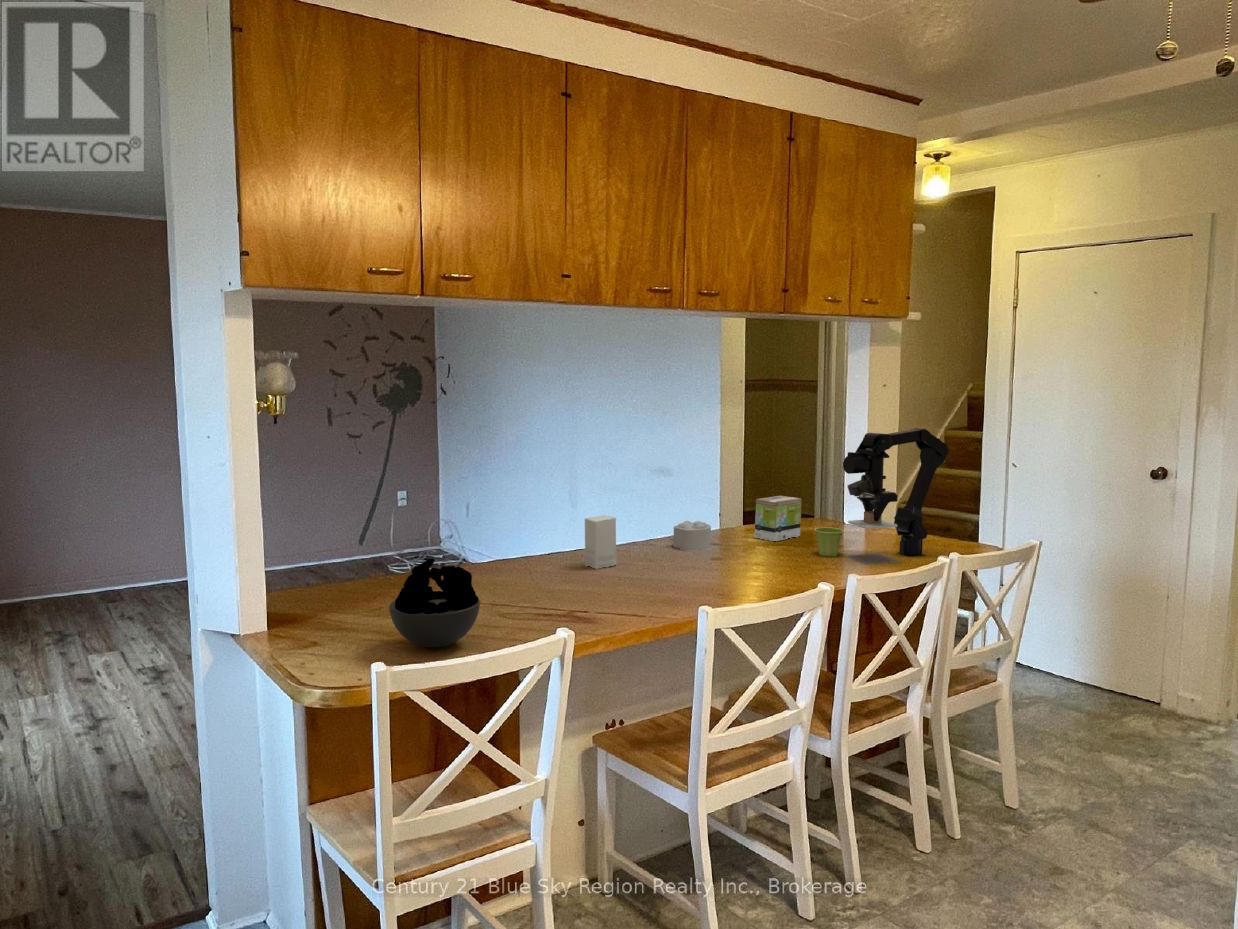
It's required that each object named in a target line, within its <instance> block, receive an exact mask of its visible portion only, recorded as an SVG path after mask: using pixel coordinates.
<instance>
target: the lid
mask: <svg viewBox="0 0 1238 929" xmlns="http://www.w3.org/2000/svg"><path fill="white" fill-rule="evenodd" d="M882 515H883V514H882ZM882 515H881V517H880V519H879V520H878V521H875V520H874V510H873V511H866V512H865V511H863V519H855V520H854V519H853V520H848V521H847V522H848V524H850V525H852V526H853V525H854V526H856V527H859V528H862V529H866V530H869V529H870V530H873V529H887V528H888V529H889V528H895V527H897V524H894V522H889V521H886V520H883V519H882V517H883V516H882Z"/></svg>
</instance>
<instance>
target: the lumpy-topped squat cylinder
mask: <svg viewBox="0 0 1238 929" xmlns="http://www.w3.org/2000/svg"><path fill="white" fill-rule="evenodd" d="M711 538H712V527H711V525H710V524H707V522H703V521H700V520H697V521H694V522H691V521H690V520H685V521H683V522H681V523H678V524H677V525H674V526H673V548H675V547H677V548H676V549H679V548H681V549H684V550H683V551H687V550H692V551H696V550H695V549H701V550H703V549H702V548H707V549H709V548H711V547H710V546H712V544H711V543H712V539H711ZM681 549H680V550H681Z"/></svg>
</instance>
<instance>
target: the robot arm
mask: <svg viewBox="0 0 1238 929" xmlns="http://www.w3.org/2000/svg"><path fill="white" fill-rule="evenodd" d="M910 443H915V446H916V448H918V449H919V451H920V452H919V460H920V467H919V470H918V472H917V474H916V478H915V480H914V484H913V486H912V489H911V491H910V493H909V497H908V499H907V502H906V504H905V505H904V506H903V507H897V509H896V513H895V516H894V517H893V519H894V520H893V521H894V522H893V524H897V527H894V528H895V530H896V534H897V536H900V541H899V551H898V552H897V553H898V554H900V555H903V556H906V557H908V558H909V557H910V558H911V557H922V556H923V557H924V556H926V554H925V553H923V544H924V543H923V542H924V539H927V537H928V534H929V533H928V532H929V531H927V530H926V528H925V527H924V526H923V519H924V517H923V511H922V510H923V506H924V503H925V501H926V497H927V495H928V493H929V489H930V488H931V484H932V481H933V479H934V478H935V477H934V476H935V473H936V470H937V469H938V468H940V467H941V466H942V465H943V464H944V463H945V461H946V459H947V457H948V455H949V452H950V451H949V448H948V445H947V444H946V443H945V442H944V441H942V440H941V439H940V438H938V437H937V436H935V435H933V434H932V433H931V432H930V431H929V430H928V429H926V428H918V427H915V428H914V429H908V430H902V431H895V432H889V433H881V432H867V433H866V434H864V436H863V438H862V441H861V442H860V444H859V445H858V447H857V449H856V450H855V452H852V451H849V452H847V455H846V457H844V460H843V462H842V468H843V470H844V472H845V473H846V474H848V475H849V474H850V475H851V474H853V475H854V474H861V476H860V480H856V481H854V482H852V483H850V484H847V490H848V493H849V495H850V496H854V497H856V499H858V500H859V501H860V502H861V503H862V505H863V509H864V512H866V511H874V520H875V521H878V520H879V519H880V517H881V515H883V513H884V512H885V509H886V508H887V507H888V505H889V503H893V502H895V503H896V502H898V497H899V496H898V494H897V493H896V492H894V491H886V488H884V480H887V476H886V475H884V465H885V464H884V462H885V461H884V460H885V459H889V458H890V455H889V454H888V453H887V452H886V451H887V450H890V449H891V448H892V447H894V446H899V445H904V444H905V445H906V444H910Z"/></svg>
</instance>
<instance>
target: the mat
mask: <svg viewBox="0 0 1238 929" xmlns="http://www.w3.org/2000/svg"><path fill="white" fill-rule="evenodd" d="M845 557H846V558H849V559H852V560H855V562H856V561H857V562H859V563H862V564H864V565H873V564H876V565H879V564H887V563H889V564H890V563H901V562H903V561H902V560H898V559H896V558H893V557H891V556H888V555H885V554H882V553H880V552H879V553H876V552H875V553H863V554H851V555H850V554H848V555H845Z"/></svg>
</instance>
